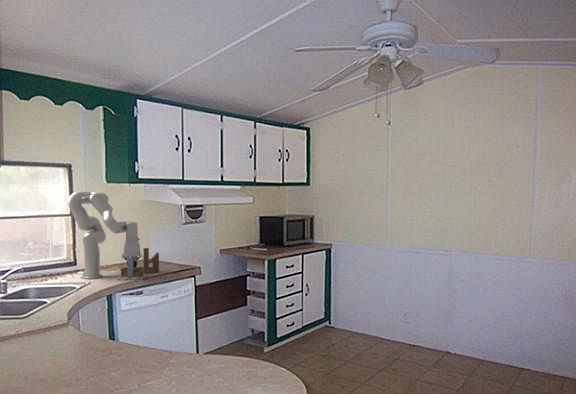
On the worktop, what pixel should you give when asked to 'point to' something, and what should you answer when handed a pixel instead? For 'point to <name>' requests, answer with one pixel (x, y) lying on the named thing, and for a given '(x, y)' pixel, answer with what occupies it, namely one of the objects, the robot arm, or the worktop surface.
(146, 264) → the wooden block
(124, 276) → the slotted base
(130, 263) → the slotted plate
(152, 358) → the worktop surface
